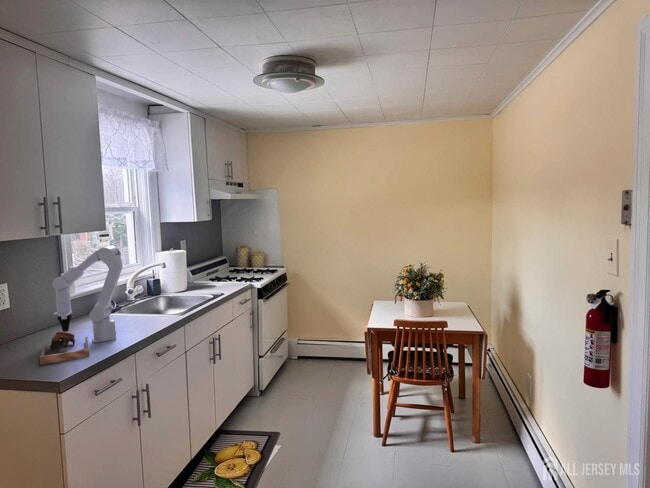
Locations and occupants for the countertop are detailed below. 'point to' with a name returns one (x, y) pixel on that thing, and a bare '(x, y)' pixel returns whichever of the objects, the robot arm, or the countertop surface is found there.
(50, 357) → the wooden bracket
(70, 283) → the robot arm
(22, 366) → the countertop surface
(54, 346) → the brown jagged ring
